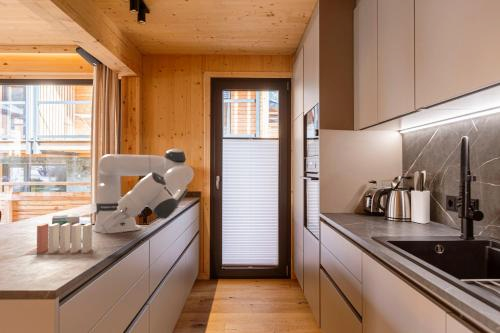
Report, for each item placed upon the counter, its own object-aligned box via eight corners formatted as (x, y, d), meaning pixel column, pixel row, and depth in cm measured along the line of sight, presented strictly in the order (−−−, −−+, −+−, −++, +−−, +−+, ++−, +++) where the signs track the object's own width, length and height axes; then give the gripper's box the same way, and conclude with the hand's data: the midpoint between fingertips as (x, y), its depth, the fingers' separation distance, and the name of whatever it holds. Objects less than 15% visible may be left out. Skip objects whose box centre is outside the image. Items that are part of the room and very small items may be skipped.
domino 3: (70, 249, 126) (70, 223, 126) (64, 252, 121) (64, 225, 121) (65, 249, 126) (66, 223, 126) (59, 252, 121) (60, 225, 121)
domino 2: (59, 249, 126) (59, 223, 126) (52, 252, 121) (53, 225, 121) (54, 249, 126) (55, 223, 126) (48, 252, 121) (48, 225, 121)
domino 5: (91, 248, 127) (92, 223, 127) (87, 252, 122) (87, 225, 122) (87, 249, 127) (87, 223, 127) (82, 252, 122) (82, 225, 122)
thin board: (101, 249, 130) (101, 247, 130) (92, 256, 120) (92, 254, 120) (36, 250, 127) (36, 248, 127) (21, 257, 117) (22, 255, 117)
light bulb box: (51, 242, 141) (51, 217, 141) (52, 239, 147) (52, 215, 147) (79, 240, 146) (79, 216, 146) (79, 237, 152) (79, 214, 152)
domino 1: (48, 249, 125) (48, 223, 125) (41, 253, 120) (41, 225, 120) (43, 249, 125) (44, 223, 125) (36, 253, 120) (37, 225, 120)
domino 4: (81, 249, 127) (81, 223, 127) (75, 252, 122) (76, 225, 122) (76, 249, 127) (77, 223, 127) (71, 252, 122) (71, 225, 122)
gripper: (128, 216, 116) (99, 244, 115) (141, 208, 137) (116, 232, 136) (115, 204, 116) (86, 231, 115) (130, 198, 136) (105, 221, 135)
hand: (102, 232), depth 125 cm, fingers closed
